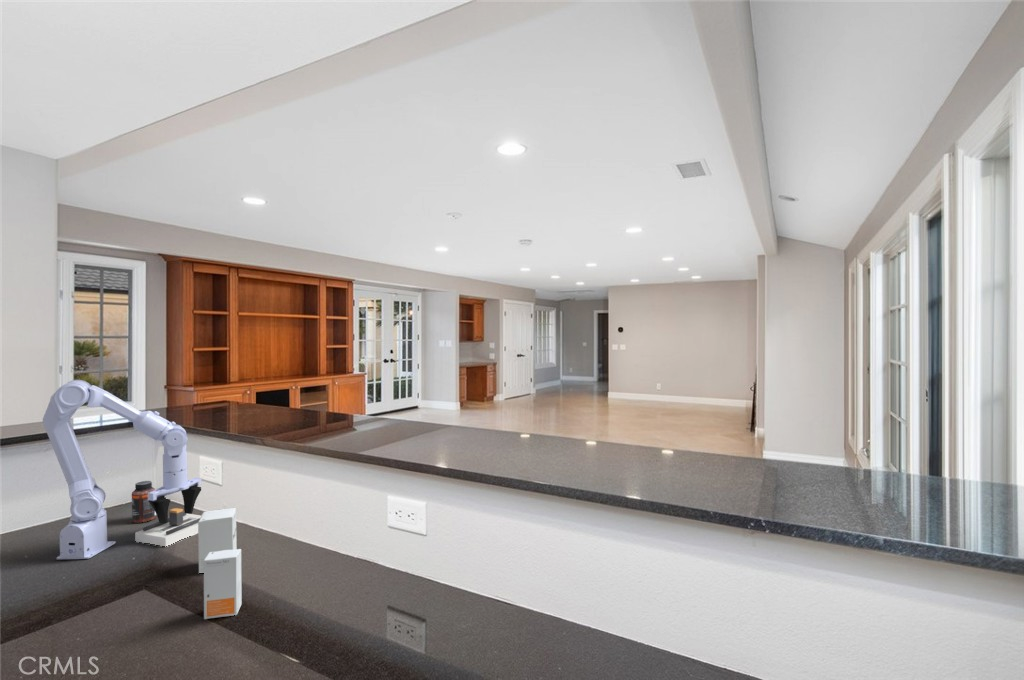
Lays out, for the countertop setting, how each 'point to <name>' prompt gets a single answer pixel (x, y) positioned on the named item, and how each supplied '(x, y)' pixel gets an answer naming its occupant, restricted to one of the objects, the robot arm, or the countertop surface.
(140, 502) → the supplement bottle
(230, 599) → the skincare box
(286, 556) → the countertop surface
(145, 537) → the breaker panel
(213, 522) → the supplement box
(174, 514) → the handle
